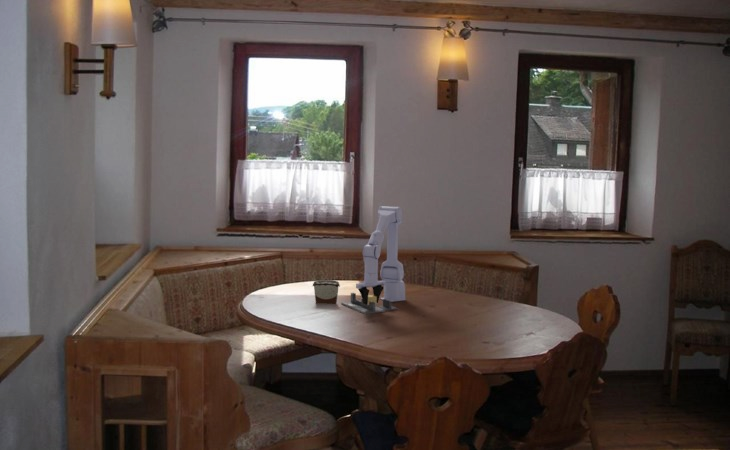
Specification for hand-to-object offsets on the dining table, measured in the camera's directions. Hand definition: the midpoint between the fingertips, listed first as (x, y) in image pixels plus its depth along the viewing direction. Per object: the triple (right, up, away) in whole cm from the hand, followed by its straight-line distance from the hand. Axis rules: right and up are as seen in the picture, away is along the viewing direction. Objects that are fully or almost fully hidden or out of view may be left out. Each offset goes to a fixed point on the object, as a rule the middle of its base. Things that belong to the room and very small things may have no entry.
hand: (370, 303), depth 335 cm
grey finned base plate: (+7, -3, +5) cm, 9 cm away
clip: (0, 0, 0) cm, 0 cm away
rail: (-4, -3, +6) cm, 8 cm away
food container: (-20, -2, +15) cm, 25 cm away
